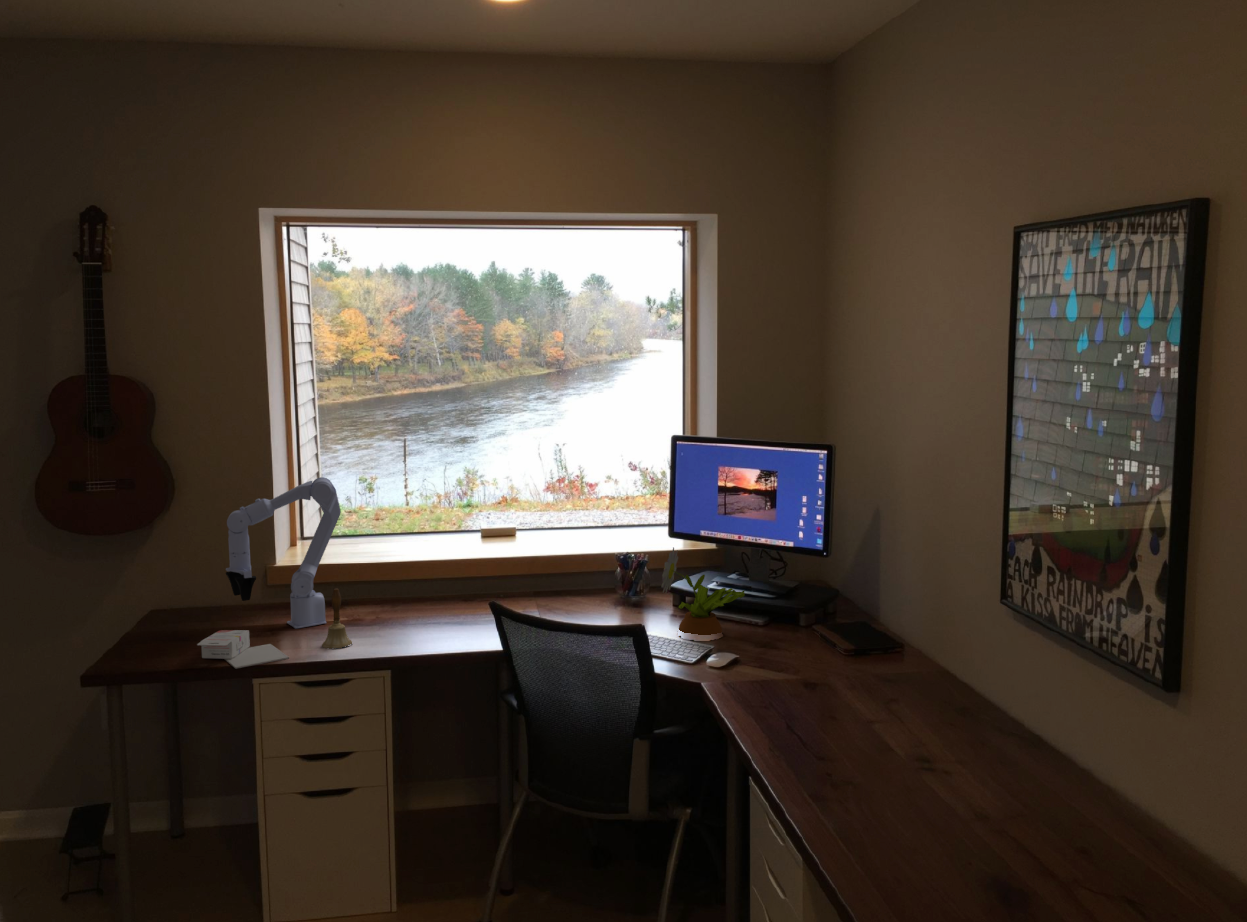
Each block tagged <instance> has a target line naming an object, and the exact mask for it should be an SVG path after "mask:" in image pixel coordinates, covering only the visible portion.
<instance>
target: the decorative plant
mask: <svg viewBox="0 0 1247 922" xmlns="http://www.w3.org/2000/svg"><path fill="white" fill-rule="evenodd" d="M678 560H679V556H678V550H675V547H672V551H670V552H669V555H668V558H667V561H664V565H663V566H664V568H663V573H662V575H661V577H662V580H661V582H662V584H661V587H660V588H662V589H663V590H662V593H664V592H665V594H667V592H668V590H669V591H671V587H672V583H673V581H674V578H675V573H676V574H677V575H679V576H682V577H683V578H684V579H685V580H686V582H687V584H688V586H689V587H690V588H692V590H693V593H694V596H695V598H694V601H693V603H688V602H687V603H685V602H683V601H681V603H680V604H679V605H678V609H681V610H682V609H683V608H684V607H685V608H686V609H687V610H688V611H687V612H686V613H685V614H684V618H682V620H681V621H680V623H679V625H678V629H679V630H680V631H682V632H684V633H691V634H698V635H711V634H717V633H721V632H723V628H722V624H721V622H720V621H719V620H718V619H717V614H716V613H714V612H713V611H714V610H716V609H717V608H718V607H724V606H725V605H724V604H726V603H727V604H728V603H731V602H733V601H735V600H737V599H739V598H740V599H742V598H744V596H746V595H745V592H746V591H745V589H744V590H742V591H736V590H735V589H733V588H732V587H730V588H729V589H727V587H722V588H720V589H716V590H714V591H713V592H712V593H711V594H710V595H709V596H708V593H709V587H706V586H704V585H703V581H704V580H705V577H706V575H705V574H701V576H700V577H699V578H698V579H697V580H696V581H695V583H694V585H693V581H692V579H691V578H690V576H689V575H688V574H686V575H683V574H682V573H679V572H677V563H678Z"/></svg>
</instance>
